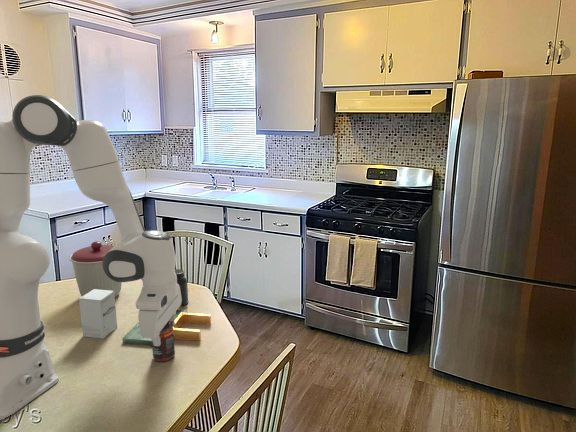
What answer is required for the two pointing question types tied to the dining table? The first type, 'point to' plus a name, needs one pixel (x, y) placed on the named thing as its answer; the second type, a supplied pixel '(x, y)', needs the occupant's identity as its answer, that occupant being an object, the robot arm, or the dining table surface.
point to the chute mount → (179, 333)
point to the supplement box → (98, 313)
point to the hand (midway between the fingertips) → (164, 335)
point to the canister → (93, 269)
